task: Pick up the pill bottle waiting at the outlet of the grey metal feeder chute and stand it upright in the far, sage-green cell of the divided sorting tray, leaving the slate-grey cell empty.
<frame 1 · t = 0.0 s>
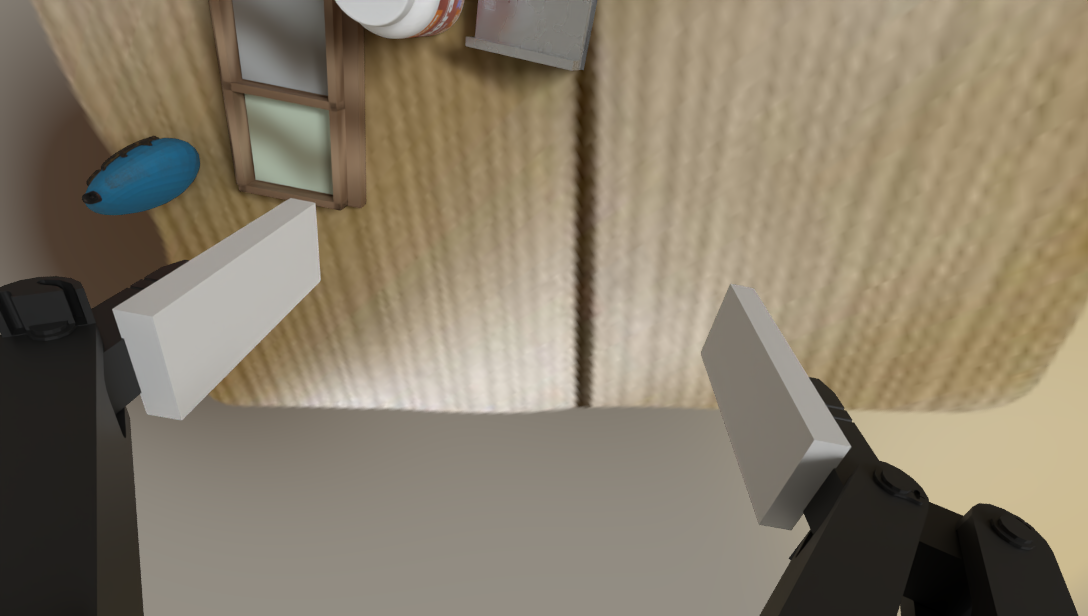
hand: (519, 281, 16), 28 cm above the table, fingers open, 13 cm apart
divided sorting tray: (297, 91, 40), on the table
feeder chute: (535, 9, 36), on the table
ornament: (182, 162, 44), on the table
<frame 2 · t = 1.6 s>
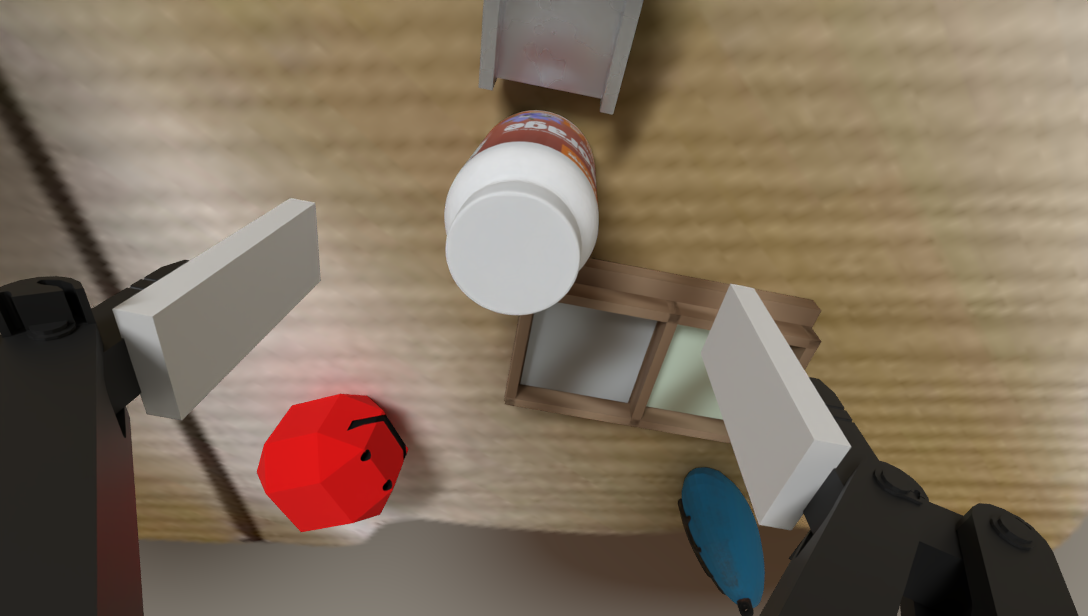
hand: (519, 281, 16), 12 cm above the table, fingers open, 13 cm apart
divided sorting tray: (647, 348, 32), on the table
pill bottle: (536, 168, 26), on the table
ball: (358, 418, 37), on the table
ornament: (707, 479, 38), on the table
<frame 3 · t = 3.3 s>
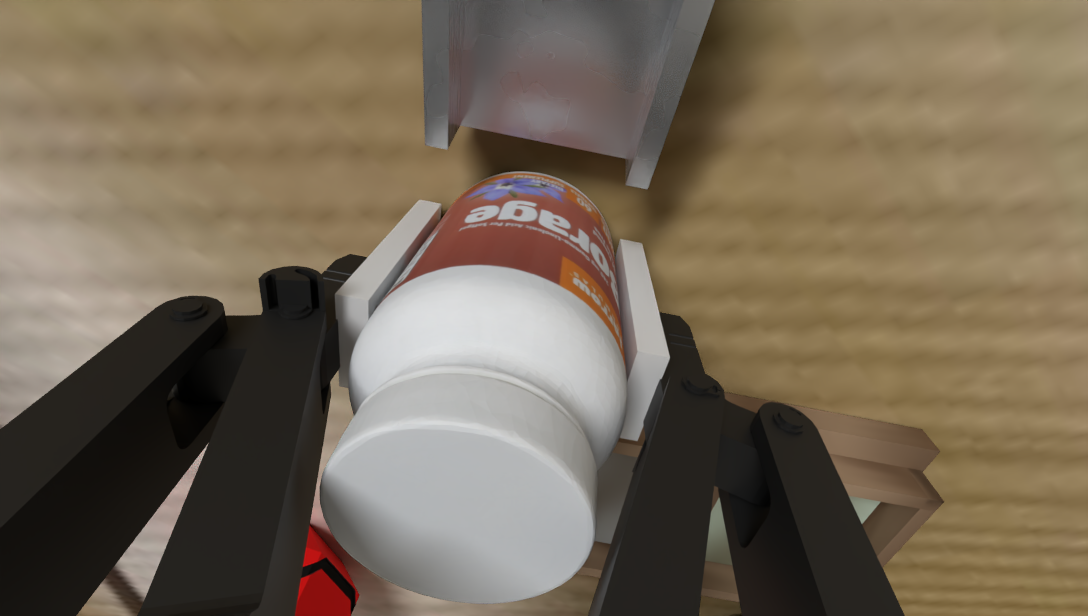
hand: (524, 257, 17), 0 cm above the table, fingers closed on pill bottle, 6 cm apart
divided sorting tray: (681, 480, 23), on the table
pill bottle: (526, 250, 18), on the table, touching gripper
ball: (298, 544, 28), on the table
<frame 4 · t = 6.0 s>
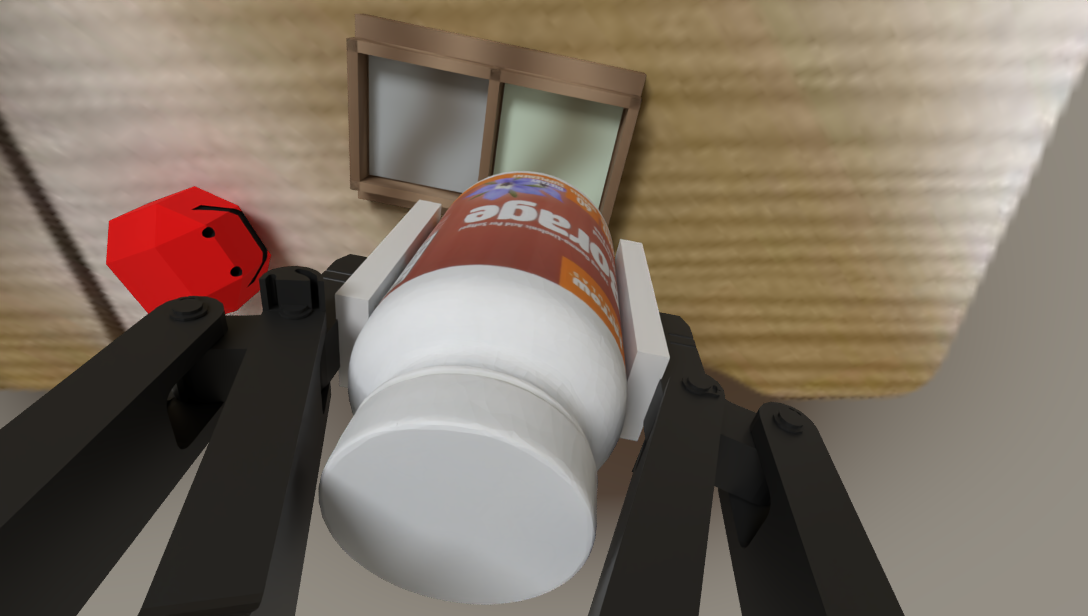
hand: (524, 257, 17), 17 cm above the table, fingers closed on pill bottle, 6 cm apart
divided sorting tray: (493, 137, 32), on the table
pill bottle: (526, 249, 18), point 17 cm above the table, touching gripper
ball: (229, 234, 37), on the table
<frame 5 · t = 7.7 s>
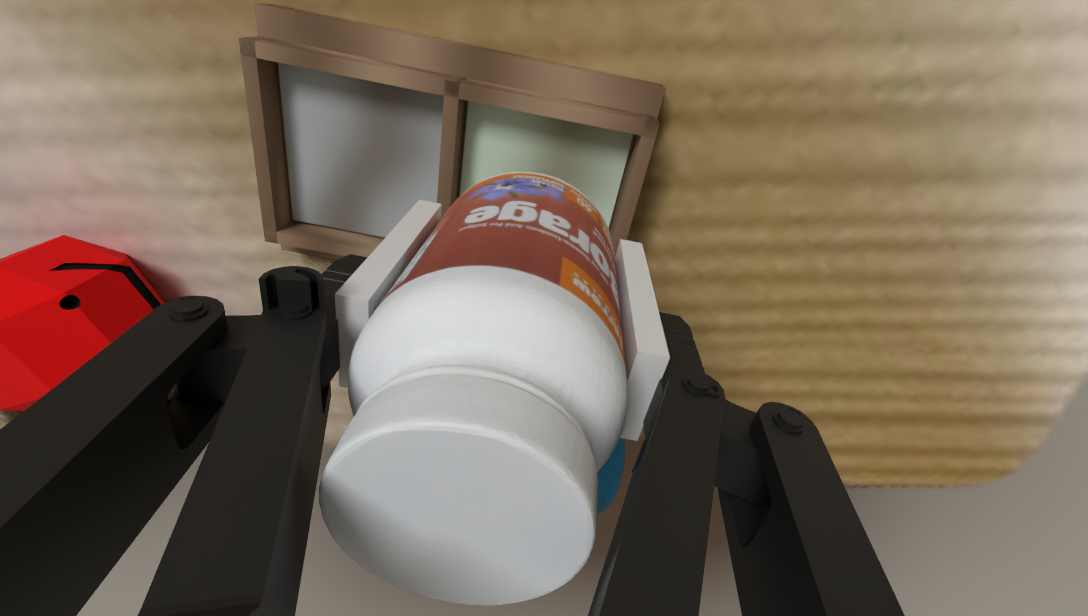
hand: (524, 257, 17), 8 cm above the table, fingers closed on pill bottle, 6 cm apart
divided sorting tray: (458, 170, 24), on the table
pill bottle: (526, 250, 18), point 7 cm above the table, touching gripper
ball: (127, 289, 29), on the table
ornament: (572, 373, 30), on the table
when the fingers open (3 cm above the table, at t = 8.9 s): pill bottle drops 2 cm, resting on divided sorting tray.
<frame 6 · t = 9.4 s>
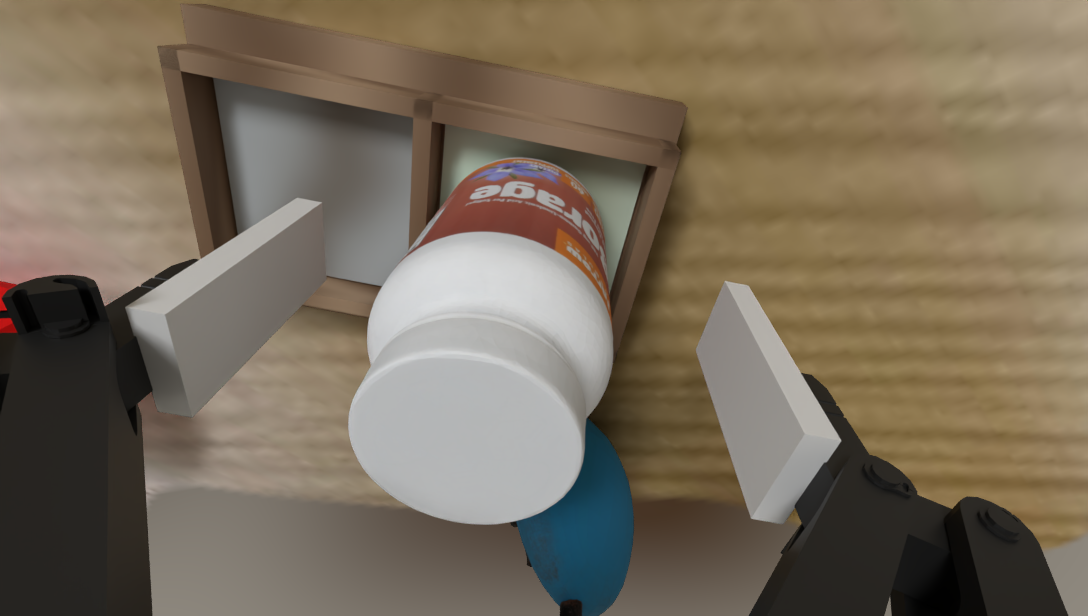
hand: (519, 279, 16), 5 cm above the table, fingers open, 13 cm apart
divided sorting tray: (436, 202, 20), on the table
pill bottle: (523, 231, 19), point 1 cm above the table, touching divided sorting tray
ball: (61, 331, 25), on the table
ornament: (573, 427, 26), on the table
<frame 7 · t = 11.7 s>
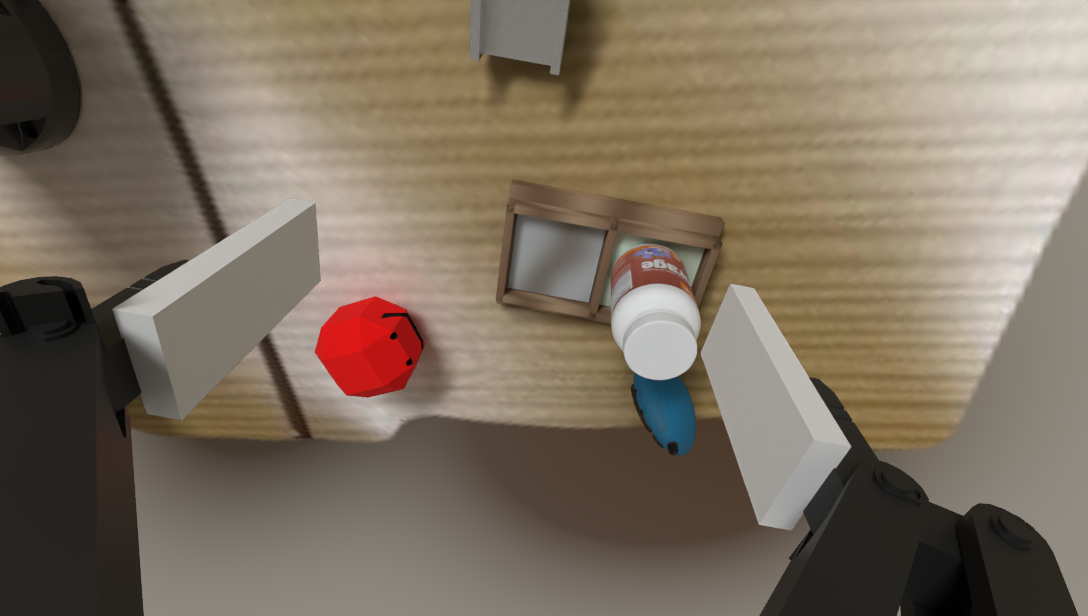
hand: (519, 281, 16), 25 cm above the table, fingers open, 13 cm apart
divided sorting tray: (602, 259, 42), on the table
pill bottle: (646, 274, 41), point 1 cm above the table, touching divided sorting tray
ball: (387, 324, 48), on the table
ornament: (658, 375, 48), on the table
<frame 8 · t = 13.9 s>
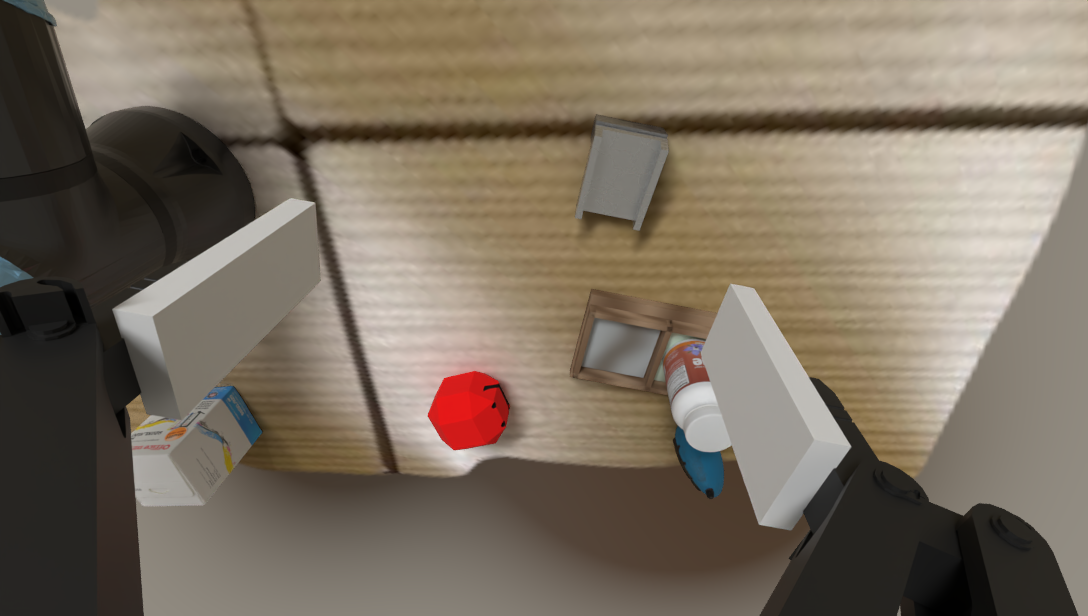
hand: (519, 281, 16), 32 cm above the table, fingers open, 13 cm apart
divided sorting tray: (655, 345, 55), on the table
pill bottle: (690, 358, 54), point 1 cm above the table, touching divided sorting tray
ball: (476, 387, 60), on the table
feeder chute: (617, 168, 45), on the table
ink box: (221, 410, 65), on the table
ornament: (691, 428, 61), on the table
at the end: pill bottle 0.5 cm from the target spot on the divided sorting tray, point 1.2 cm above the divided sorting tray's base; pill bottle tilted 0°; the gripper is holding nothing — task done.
